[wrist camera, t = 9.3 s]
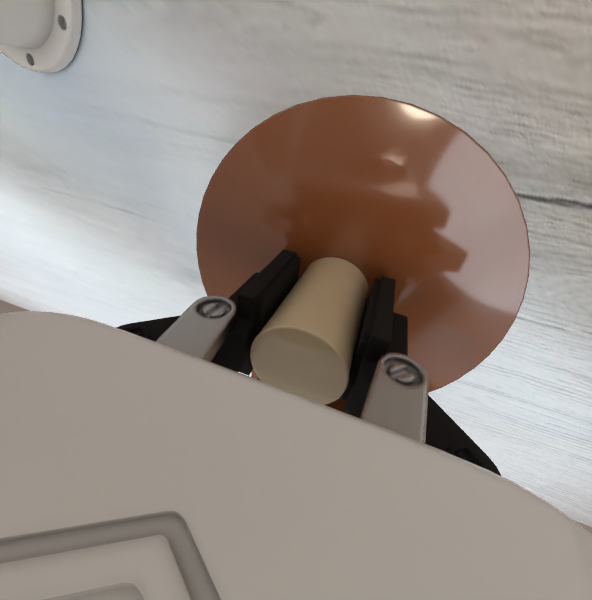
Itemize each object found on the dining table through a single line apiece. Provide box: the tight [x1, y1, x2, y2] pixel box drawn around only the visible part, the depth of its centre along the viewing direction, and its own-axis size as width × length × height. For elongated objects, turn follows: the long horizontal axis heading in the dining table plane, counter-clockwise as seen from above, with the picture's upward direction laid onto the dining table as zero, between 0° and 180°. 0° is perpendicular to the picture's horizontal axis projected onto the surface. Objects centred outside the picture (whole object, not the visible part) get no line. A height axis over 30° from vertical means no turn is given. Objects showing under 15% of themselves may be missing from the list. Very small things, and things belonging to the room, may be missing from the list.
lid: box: [197, 95, 530, 405], centre depth 11 cm, size 14×14×6 cm
